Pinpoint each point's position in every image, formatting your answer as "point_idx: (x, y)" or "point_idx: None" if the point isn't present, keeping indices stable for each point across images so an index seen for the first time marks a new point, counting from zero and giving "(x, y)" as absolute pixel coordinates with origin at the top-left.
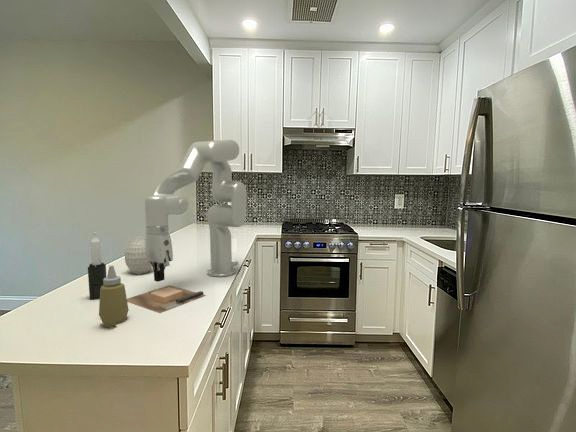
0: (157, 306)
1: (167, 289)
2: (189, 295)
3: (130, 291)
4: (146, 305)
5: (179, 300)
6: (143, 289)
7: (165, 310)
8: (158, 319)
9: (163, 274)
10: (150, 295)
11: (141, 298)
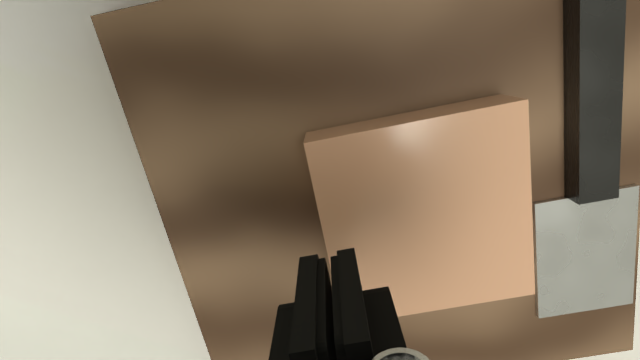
0: (518, 316)
1: (367, 184)
2: (591, 66)
3: (11, 285)
4: (441, 353)
5: (615, 192)
6: (12, 202)
7: (625, 310)
8: (637, 351)
9: (395, 314)
10: None
11: None
